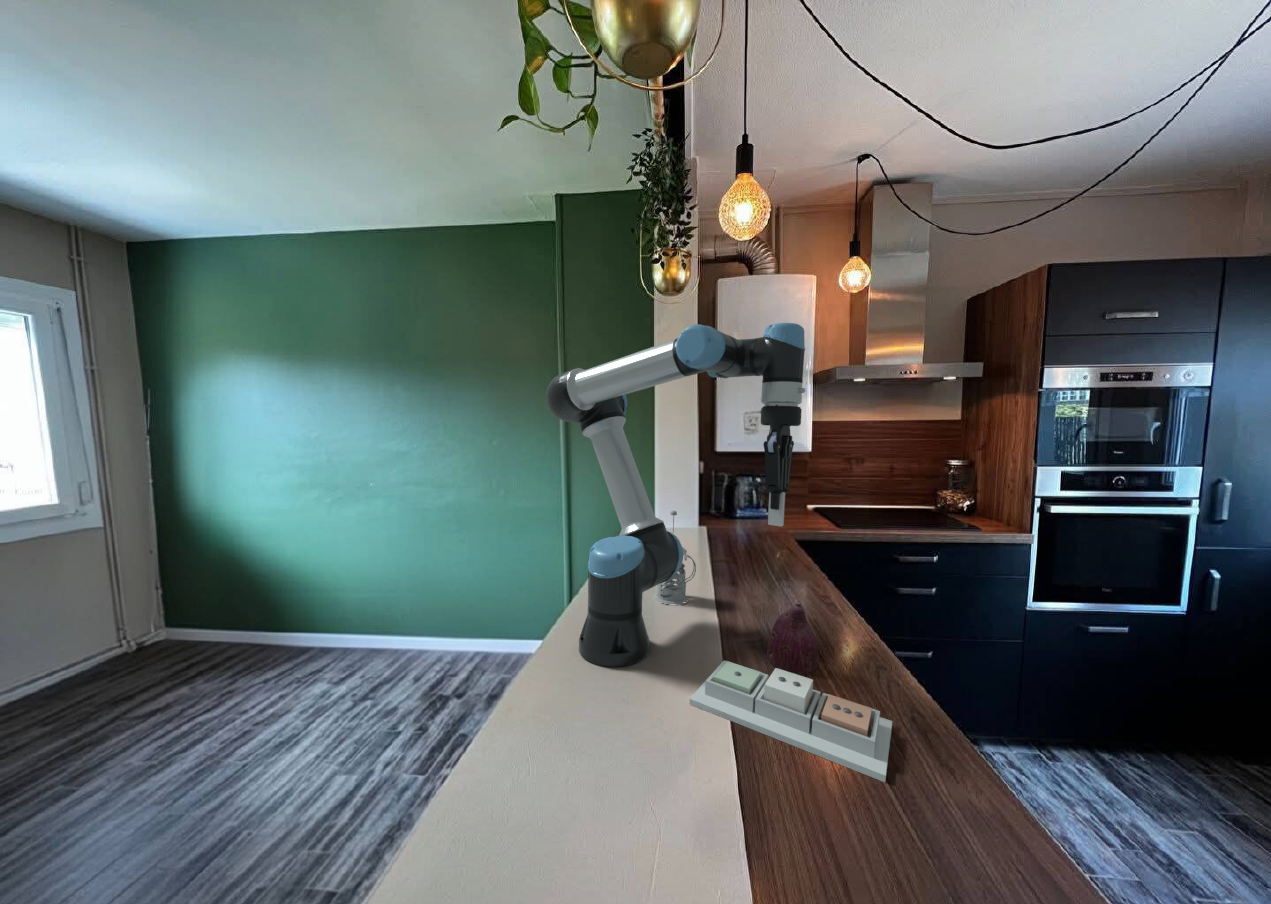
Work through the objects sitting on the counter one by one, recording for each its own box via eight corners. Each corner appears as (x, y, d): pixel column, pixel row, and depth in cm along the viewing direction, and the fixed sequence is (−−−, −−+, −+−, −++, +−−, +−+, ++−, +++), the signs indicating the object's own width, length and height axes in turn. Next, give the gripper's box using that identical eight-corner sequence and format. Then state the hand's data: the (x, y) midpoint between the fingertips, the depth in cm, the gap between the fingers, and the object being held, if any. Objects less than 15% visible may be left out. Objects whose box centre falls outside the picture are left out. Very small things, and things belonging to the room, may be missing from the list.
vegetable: (818, 690, 89) (837, 629, 84) (765, 677, 91) (780, 616, 86) (811, 653, 99) (828, 596, 94) (763, 641, 101) (777, 585, 96)
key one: (713, 692, 80) (713, 675, 80) (726, 676, 85) (727, 660, 85) (748, 705, 76) (749, 687, 76) (760, 687, 82) (760, 671, 82)
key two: (763, 702, 75) (764, 683, 75) (774, 684, 80) (775, 666, 80) (803, 716, 71) (804, 697, 71) (812, 696, 77) (813, 678, 77)
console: (689, 704, 78) (690, 684, 78) (720, 668, 90) (721, 651, 90) (885, 782, 62) (886, 758, 62) (891, 727, 74) (893, 706, 73)
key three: (820, 732, 70) (821, 713, 70) (828, 711, 75) (829, 693, 75) (866, 749, 67) (867, 729, 66) (870, 726, 72) (871, 707, 72)
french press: (651, 592, 130) (653, 507, 129) (690, 591, 132) (693, 507, 130) (656, 605, 121) (659, 514, 119) (698, 605, 122) (701, 514, 120)
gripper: (792, 403, 80) (786, 534, 81) (808, 407, 91) (803, 522, 92) (751, 403, 84) (746, 528, 85) (771, 407, 95) (766, 517, 96)
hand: (775, 524), depth 89 cm, fingers closed
